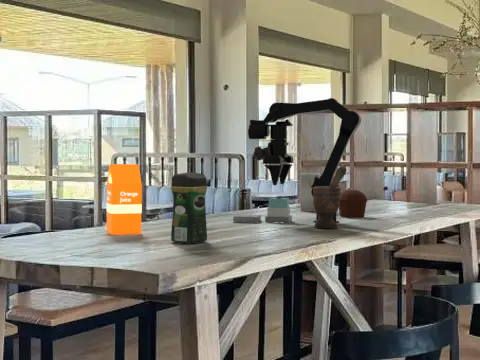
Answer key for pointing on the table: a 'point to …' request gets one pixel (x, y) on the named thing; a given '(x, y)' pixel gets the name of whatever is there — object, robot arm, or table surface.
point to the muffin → (352, 204)
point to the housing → (278, 207)
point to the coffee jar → (189, 208)
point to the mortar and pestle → (328, 201)
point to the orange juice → (124, 199)
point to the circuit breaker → (307, 191)
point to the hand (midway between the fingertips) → (278, 184)
